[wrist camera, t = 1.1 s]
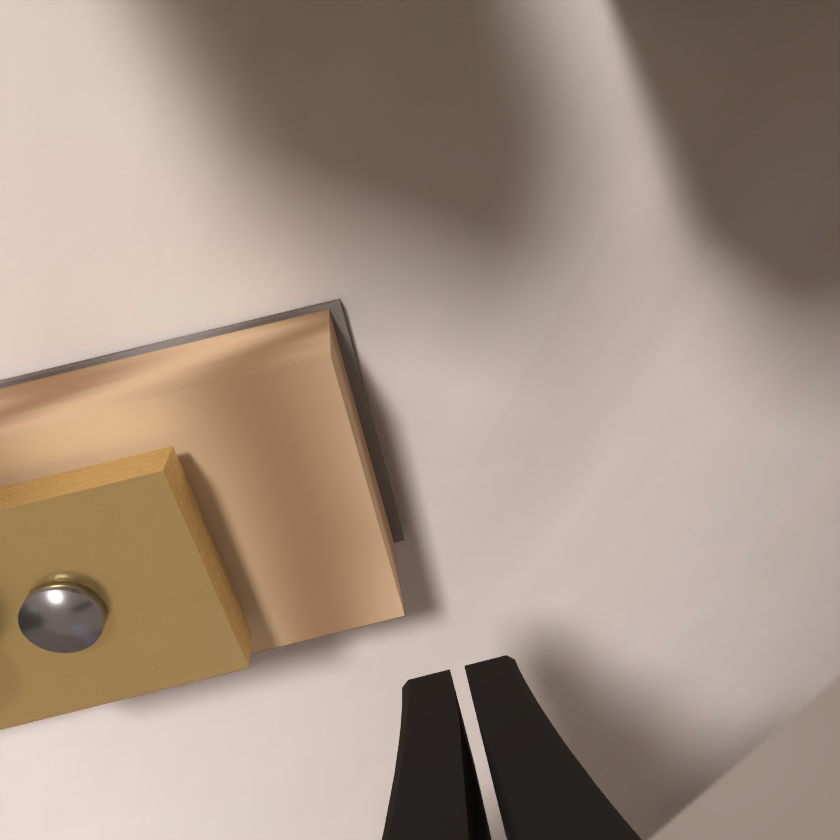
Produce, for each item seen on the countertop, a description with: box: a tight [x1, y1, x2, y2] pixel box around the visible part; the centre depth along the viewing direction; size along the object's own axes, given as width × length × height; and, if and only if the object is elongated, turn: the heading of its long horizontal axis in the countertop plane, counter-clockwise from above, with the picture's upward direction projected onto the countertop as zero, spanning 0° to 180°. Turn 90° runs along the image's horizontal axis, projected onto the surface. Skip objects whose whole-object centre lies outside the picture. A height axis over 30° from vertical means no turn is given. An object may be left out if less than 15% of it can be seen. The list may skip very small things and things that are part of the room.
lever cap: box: [0, 446, 253, 730], centre depth 15 cm, size 7×5×2 cm
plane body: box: [0, 299, 405, 654], centre depth 17 cm, size 17×7×4 cm, turn 102°
